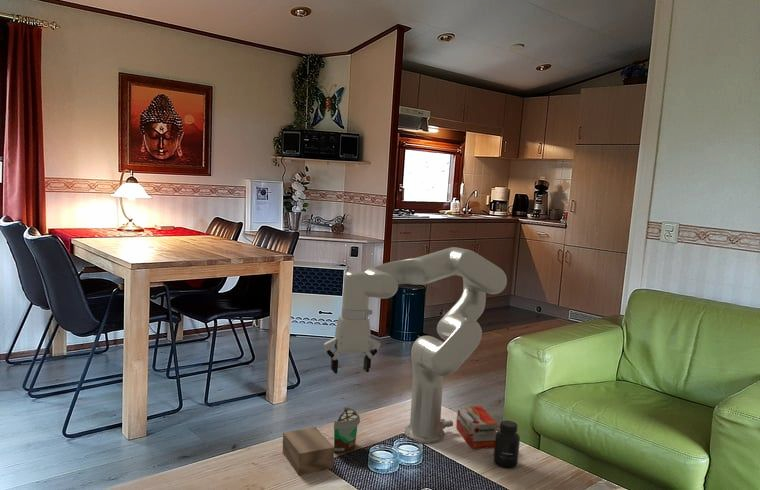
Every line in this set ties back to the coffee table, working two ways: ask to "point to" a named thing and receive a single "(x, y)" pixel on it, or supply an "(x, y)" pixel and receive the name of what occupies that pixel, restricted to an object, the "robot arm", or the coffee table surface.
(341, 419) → the food container
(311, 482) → the coffee table surface
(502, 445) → the supplement bottle
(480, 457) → the coffee table surface
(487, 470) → the coffee table surface
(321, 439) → the block
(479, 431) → the medicine box
